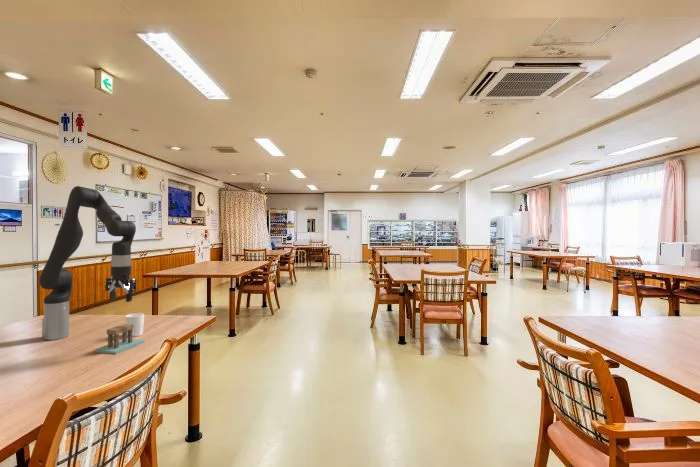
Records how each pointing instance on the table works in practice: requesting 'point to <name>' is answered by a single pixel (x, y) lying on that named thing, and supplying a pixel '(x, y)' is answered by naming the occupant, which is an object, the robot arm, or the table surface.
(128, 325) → the tan slab with prongs
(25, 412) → the table surface
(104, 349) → the board
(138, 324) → the white cup
